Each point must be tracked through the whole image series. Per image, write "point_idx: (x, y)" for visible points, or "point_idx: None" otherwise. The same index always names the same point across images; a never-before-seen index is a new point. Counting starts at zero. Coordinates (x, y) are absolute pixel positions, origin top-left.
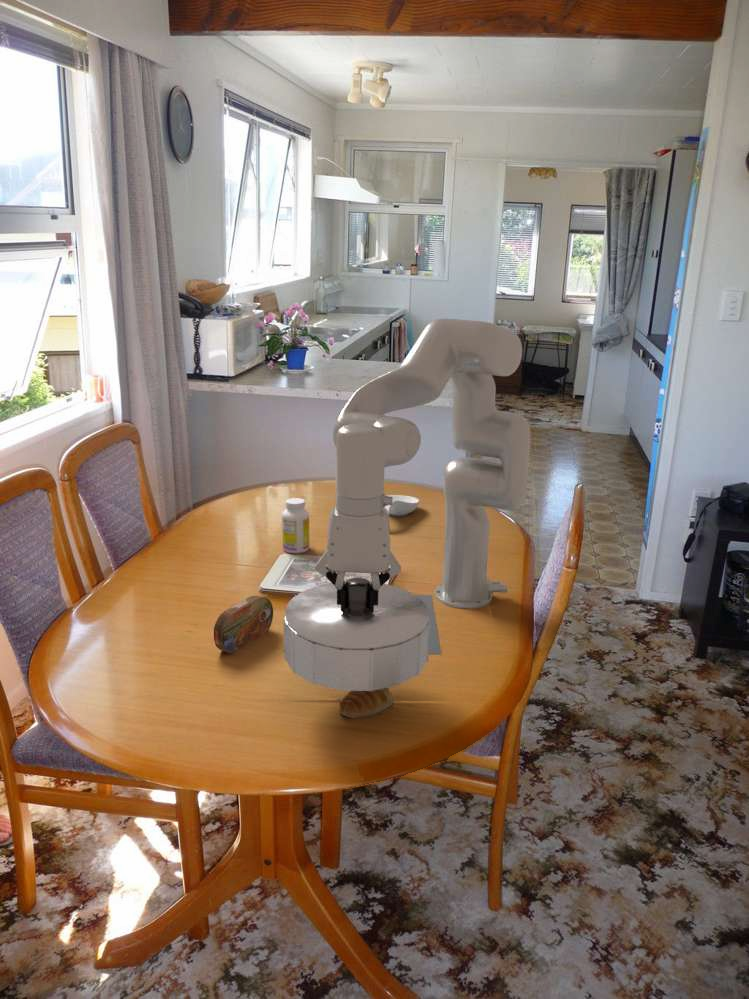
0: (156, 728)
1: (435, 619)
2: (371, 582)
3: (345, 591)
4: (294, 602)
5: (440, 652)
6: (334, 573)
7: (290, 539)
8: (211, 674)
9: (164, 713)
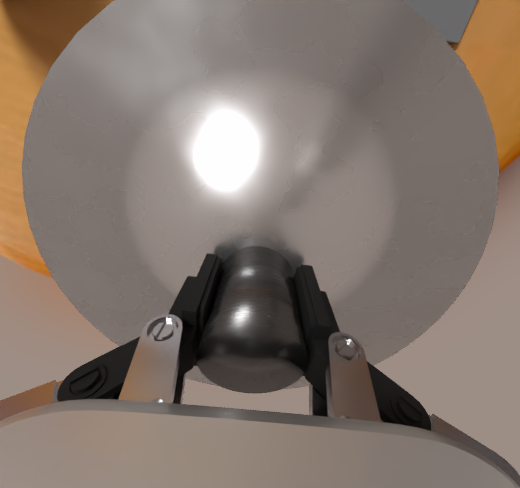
0: (28, 221)
1: None
2: (314, 362)
3: None
4: (46, 210)
5: (461, 33)
6: (117, 387)
7: None
8: (20, 80)
9: (17, 192)
